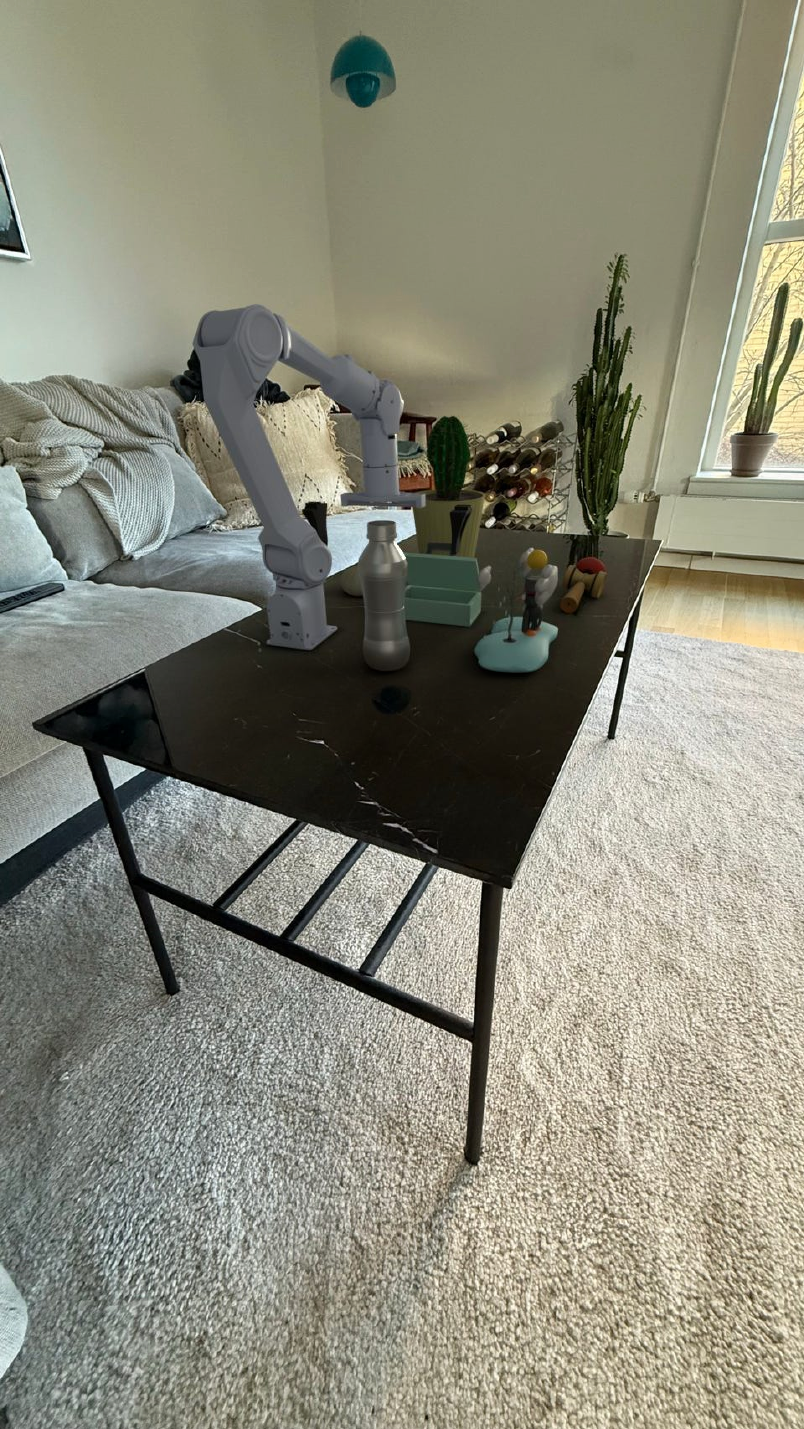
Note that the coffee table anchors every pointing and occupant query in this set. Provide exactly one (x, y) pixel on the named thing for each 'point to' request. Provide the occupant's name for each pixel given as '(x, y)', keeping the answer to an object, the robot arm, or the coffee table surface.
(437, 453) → the potted cactus
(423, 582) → the lid
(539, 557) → the figurine on blue base
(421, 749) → the coffee table surface
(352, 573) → the sea urchin shell
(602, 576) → the kendama
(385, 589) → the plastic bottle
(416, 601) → the teal open box
